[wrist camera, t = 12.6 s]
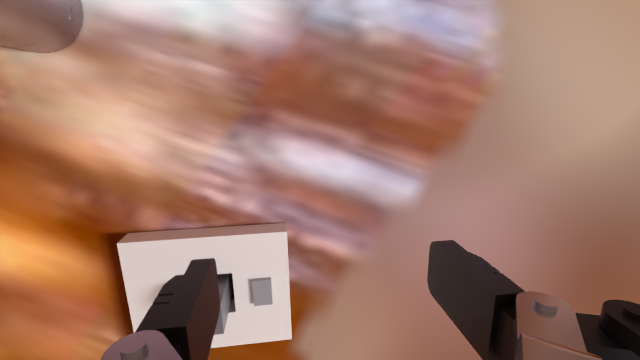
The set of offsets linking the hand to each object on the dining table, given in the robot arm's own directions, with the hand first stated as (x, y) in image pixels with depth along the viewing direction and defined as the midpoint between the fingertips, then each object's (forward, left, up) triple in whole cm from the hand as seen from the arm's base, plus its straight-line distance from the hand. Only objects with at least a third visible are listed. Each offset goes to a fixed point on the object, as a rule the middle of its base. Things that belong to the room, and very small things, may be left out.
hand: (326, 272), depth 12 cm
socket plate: (-11, -18, -30) cm, 37 cm away
